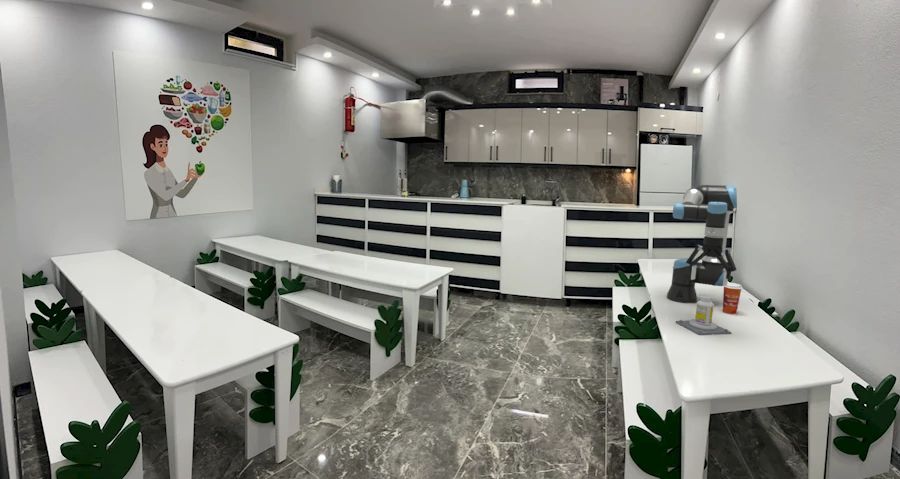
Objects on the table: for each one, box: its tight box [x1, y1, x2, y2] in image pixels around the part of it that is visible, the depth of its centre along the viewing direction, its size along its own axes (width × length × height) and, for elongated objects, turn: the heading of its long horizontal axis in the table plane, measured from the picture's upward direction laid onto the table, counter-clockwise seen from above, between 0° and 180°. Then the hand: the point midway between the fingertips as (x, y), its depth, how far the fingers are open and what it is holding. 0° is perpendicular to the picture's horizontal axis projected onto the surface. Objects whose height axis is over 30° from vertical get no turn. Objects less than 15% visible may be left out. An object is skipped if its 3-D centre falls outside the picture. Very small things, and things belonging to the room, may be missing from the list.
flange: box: [675, 318, 732, 336], centre depth 203 cm, size 16×16×2 cm
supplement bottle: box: [694, 294, 715, 325], centre depth 202 cm, size 7×7×13 cm
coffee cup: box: [722, 282, 743, 315], centre depth 226 cm, size 8×8×15 cm
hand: (708, 282), depth 200 cm, fingers open, 13 cm apart
